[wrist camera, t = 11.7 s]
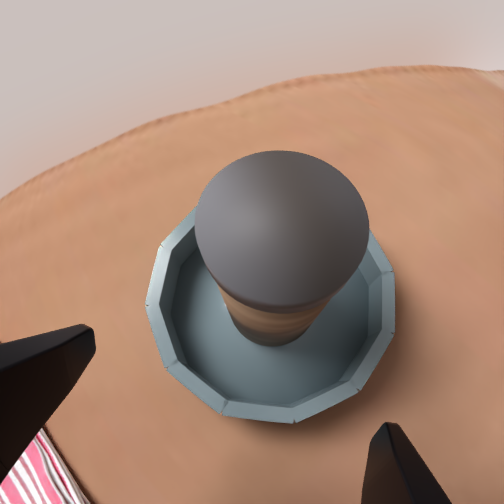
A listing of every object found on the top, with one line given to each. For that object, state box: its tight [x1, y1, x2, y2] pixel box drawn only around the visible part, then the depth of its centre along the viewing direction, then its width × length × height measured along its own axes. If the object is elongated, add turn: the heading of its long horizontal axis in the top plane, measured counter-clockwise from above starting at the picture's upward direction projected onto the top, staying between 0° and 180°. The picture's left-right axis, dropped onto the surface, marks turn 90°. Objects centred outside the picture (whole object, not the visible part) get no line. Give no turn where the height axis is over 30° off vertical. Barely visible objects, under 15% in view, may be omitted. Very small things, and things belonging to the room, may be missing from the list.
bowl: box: [145, 206, 395, 423], centre depth 18 cm, size 14×14×3 cm
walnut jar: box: [195, 151, 369, 347], centre depth 14 cm, size 5×5×10 cm
